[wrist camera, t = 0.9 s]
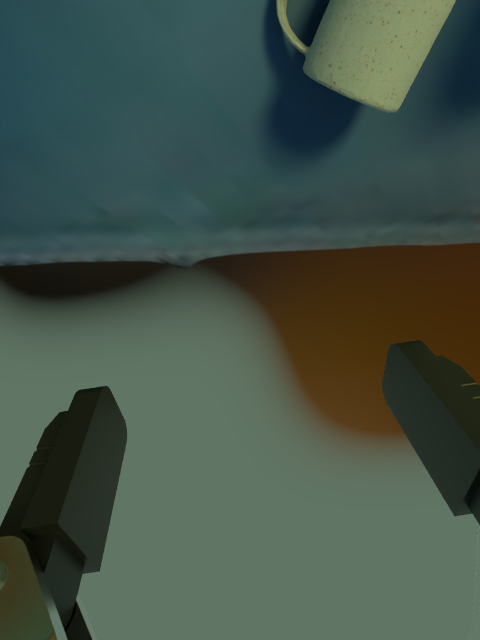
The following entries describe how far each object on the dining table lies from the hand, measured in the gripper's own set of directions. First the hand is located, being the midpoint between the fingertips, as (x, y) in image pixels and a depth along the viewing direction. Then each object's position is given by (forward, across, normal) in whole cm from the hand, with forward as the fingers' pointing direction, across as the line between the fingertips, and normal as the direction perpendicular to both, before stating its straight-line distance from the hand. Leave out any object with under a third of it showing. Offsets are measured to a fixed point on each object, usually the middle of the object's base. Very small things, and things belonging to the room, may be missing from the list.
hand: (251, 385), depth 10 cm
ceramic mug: (+26, -11, -11) cm, 30 cm away
